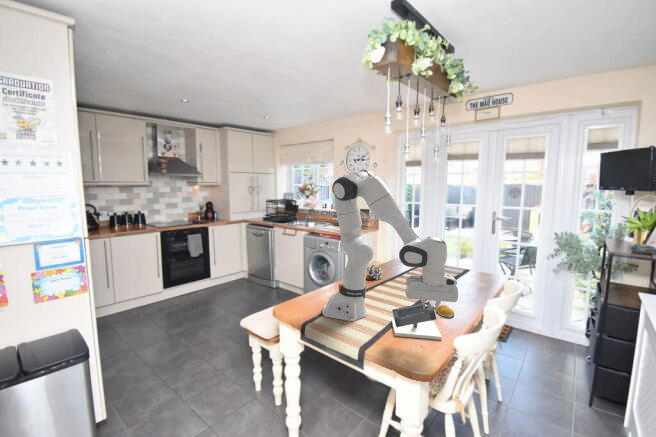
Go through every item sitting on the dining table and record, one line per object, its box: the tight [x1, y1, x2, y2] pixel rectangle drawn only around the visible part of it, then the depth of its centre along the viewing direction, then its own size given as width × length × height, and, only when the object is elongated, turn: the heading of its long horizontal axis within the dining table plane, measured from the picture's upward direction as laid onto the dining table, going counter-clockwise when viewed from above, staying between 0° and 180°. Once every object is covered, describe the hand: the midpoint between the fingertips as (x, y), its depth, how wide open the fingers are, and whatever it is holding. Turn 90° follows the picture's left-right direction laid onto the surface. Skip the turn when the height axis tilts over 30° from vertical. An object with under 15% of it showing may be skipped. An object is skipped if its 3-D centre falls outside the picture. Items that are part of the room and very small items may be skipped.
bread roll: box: [436, 304, 455, 318], centre depth 156 cm, size 8×9×4 cm
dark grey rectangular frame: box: [391, 301, 437, 327], centre depth 124 cm, size 16×10×3 cm, turn 83°
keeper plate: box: [390, 317, 443, 341], centre depth 138 cm, size 20×14×7 cm
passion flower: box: [366, 263, 384, 281], centre depth 208 cm, size 11×11×12 cm
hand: (429, 309), depth 123 cm, fingers closed on dark grey rectangular frame, 2 cm apart
